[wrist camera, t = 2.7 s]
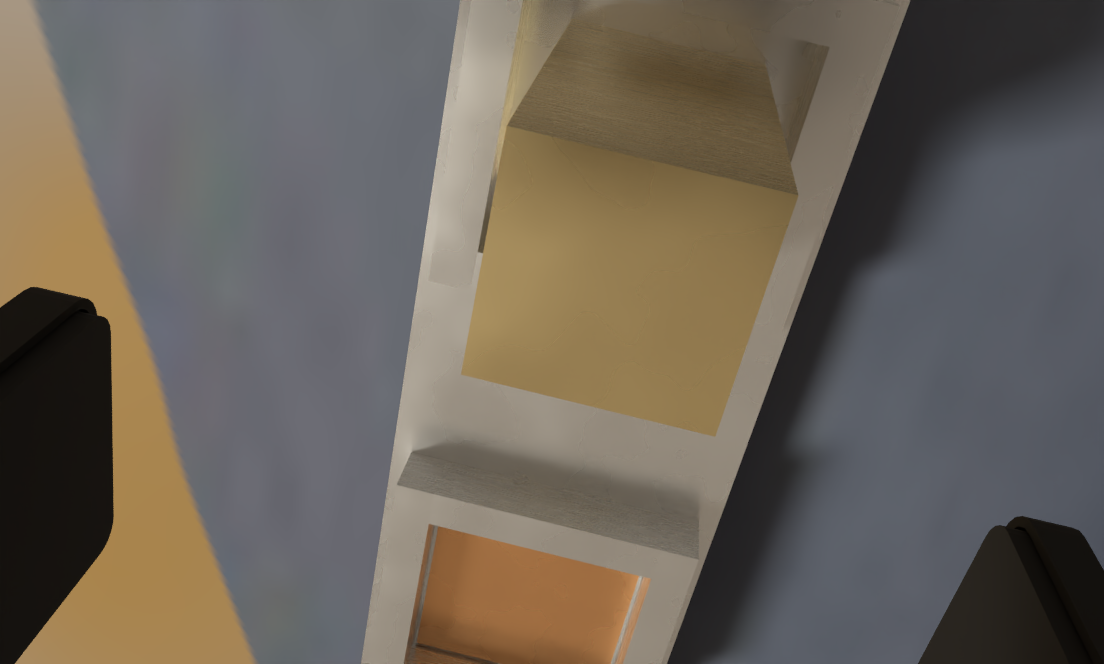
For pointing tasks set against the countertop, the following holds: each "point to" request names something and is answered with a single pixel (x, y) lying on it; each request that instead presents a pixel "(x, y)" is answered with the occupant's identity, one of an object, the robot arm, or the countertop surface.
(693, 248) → the square wooden post
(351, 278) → the countertop surface
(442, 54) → the countertop surface
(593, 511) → the white boxy piece
